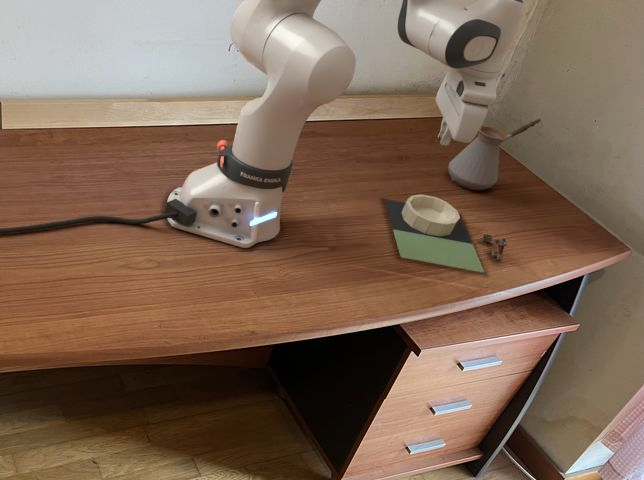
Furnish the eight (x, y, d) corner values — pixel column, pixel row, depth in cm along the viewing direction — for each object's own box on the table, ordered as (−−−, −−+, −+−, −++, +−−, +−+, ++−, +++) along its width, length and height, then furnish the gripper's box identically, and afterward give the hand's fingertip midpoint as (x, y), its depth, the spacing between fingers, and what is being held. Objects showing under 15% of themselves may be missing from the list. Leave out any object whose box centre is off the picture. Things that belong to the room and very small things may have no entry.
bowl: (406, 230, 147) (412, 218, 145) (398, 202, 155) (403, 190, 153) (458, 240, 147) (464, 227, 145) (447, 212, 156) (453, 200, 154)
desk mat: (399, 258, 139) (400, 257, 139) (383, 200, 155) (384, 199, 155) (483, 274, 140) (484, 272, 140) (459, 215, 156) (459, 213, 156)
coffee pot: (468, 198, 163) (498, 137, 153) (433, 173, 170) (461, 113, 160) (529, 188, 172) (561, 130, 162) (494, 164, 179) (523, 107, 169)
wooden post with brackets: (496, 261, 142) (503, 239, 141) (477, 253, 150) (483, 232, 149) (505, 262, 143) (511, 240, 141) (485, 254, 150) (491, 233, 149)
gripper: (444, 55, 149) (419, 118, 158) (466, 95, 134) (437, 162, 143) (473, 61, 150) (446, 123, 159) (499, 101, 134) (467, 167, 144)
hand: (442, 142), depth 151 cm, fingers closed
